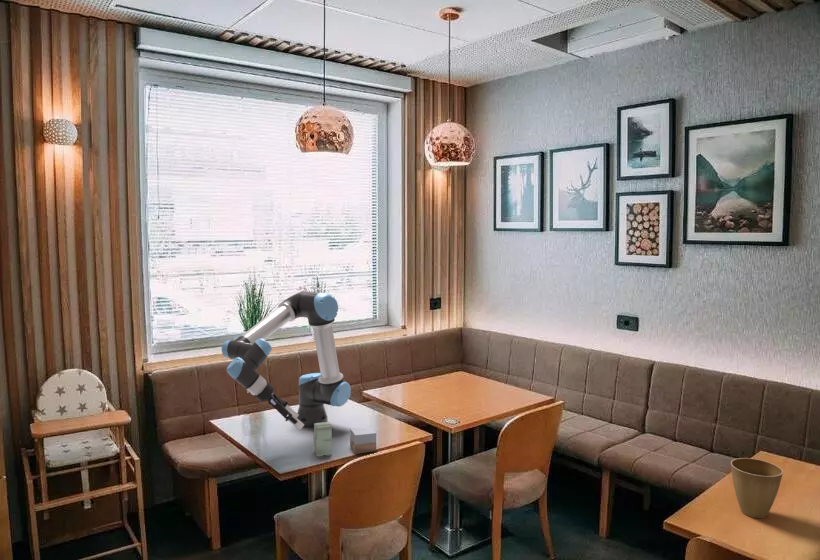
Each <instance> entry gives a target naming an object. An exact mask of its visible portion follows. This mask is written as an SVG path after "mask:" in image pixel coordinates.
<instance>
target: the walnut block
mask: <svg viewBox="0 0 820 560" xmlns="http://www.w3.org/2000/svg"><path fill="white" fill-rule="evenodd" d="M349 439H350V441H349V443H350V445H349V446H351V447H350V448H351V449H352V450H353V452H354V454H361V452H362V453H370V452H372V453H373V452H377V441H376V442H375V443H366V444H357V445H355V444H354V442H353V441H352V439H351V438H350V437H349Z"/></svg>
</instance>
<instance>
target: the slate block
mask: <svg viewBox="0 0 820 560" xmlns="http://www.w3.org/2000/svg"><path fill="white" fill-rule="evenodd" d="M349 435H350V437H349V439H350V438H351V439H352V441H353V442H354V444H355V445H357V444H366V443H375V442H376V443H377V432H376V431H375V430H374V428H373V427H372V426H363V427H362V426H361V427H353V428H349Z"/></svg>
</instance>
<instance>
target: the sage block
mask: <svg viewBox="0 0 820 560" xmlns="http://www.w3.org/2000/svg"><path fill="white" fill-rule="evenodd" d="M313 427H314V429H313V430H314V431H313V432H314V433H313V437H314V438H313V439H314V444H313V445H314V446H313V447H314V448H313V449H314V451H315V452H314V454H315V455H316V457H317V456H318V457H324V456H323V455H327V456H332V455H333V449H332V445H333V444H332V443H333V442H332V439H333V438H332V437H333V436H332V434H333V432H332V428H333V427H332V424H331V423H330V422H329V421H327V422H323V423H314V426H313ZM331 454H332V455H331Z"/></svg>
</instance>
